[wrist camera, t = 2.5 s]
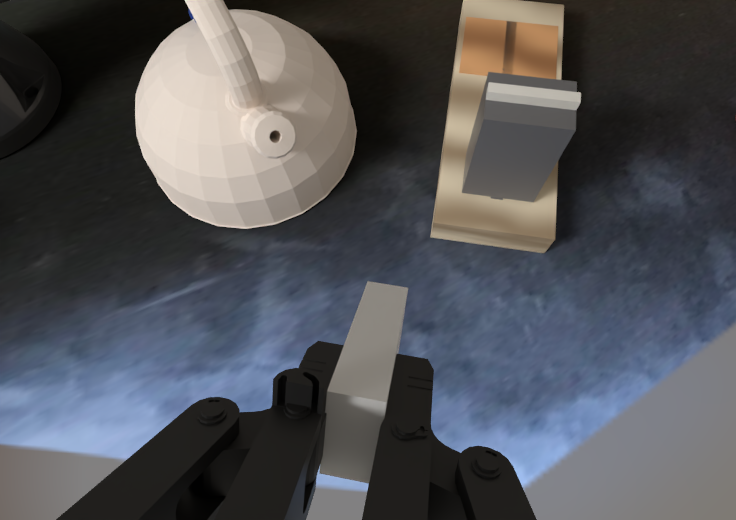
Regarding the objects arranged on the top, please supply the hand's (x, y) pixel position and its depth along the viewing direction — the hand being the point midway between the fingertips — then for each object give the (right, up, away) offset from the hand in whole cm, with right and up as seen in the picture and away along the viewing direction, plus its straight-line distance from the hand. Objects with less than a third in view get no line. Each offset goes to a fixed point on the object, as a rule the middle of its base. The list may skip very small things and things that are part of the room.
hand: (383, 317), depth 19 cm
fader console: (+12, +15, +30) cm, 36 cm away
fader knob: (+11, +9, +24) cm, 28 cm away
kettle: (-12, +14, +31) cm, 36 cm away
